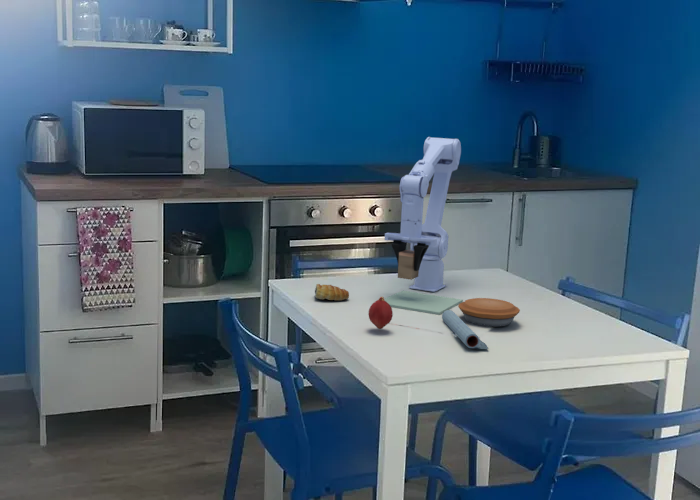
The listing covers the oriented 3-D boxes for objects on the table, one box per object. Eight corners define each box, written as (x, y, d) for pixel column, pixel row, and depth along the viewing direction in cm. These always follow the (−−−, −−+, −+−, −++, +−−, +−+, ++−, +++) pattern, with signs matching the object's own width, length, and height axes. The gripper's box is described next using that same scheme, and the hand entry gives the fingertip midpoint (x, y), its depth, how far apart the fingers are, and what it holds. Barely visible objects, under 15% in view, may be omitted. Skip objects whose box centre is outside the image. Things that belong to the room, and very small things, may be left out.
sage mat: (402, 292, 253) (403, 290, 252) (462, 301, 245) (463, 299, 245) (376, 304, 237) (376, 302, 236) (439, 314, 229) (439, 312, 229)
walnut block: (404, 274, 244) (406, 249, 243) (418, 276, 242) (419, 251, 241) (397, 277, 240) (399, 252, 238) (411, 279, 238) (412, 254, 237)
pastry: (347, 297, 243) (348, 283, 243) (350, 302, 236) (351, 288, 236) (313, 295, 242) (314, 281, 241) (315, 300, 235) (315, 286, 235)
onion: (364, 326, 214) (365, 293, 213) (385, 325, 216) (387, 293, 215) (373, 332, 209) (374, 299, 207) (395, 331, 211) (397, 298, 209)
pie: (521, 317, 231) (522, 298, 230) (515, 331, 216) (517, 312, 215) (462, 311, 235) (463, 292, 234) (453, 324, 220) (454, 305, 219)
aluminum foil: (441, 322, 223) (442, 309, 222) (467, 323, 224) (468, 310, 223) (464, 348, 201) (465, 334, 200) (493, 349, 202) (494, 334, 201)
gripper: (381, 218, 238) (378, 268, 240) (431, 224, 232) (428, 275, 234) (391, 215, 244) (388, 264, 247) (441, 221, 238) (437, 270, 240)
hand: (408, 269), depth 241 cm, fingers closed on walnut block, 4 cm apart
